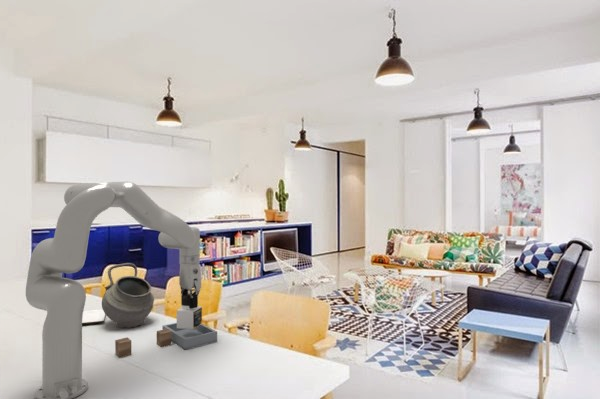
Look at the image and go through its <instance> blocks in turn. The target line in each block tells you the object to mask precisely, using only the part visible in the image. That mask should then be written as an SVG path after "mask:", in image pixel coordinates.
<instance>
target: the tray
mask: <svg viewBox="0 0 600 399" xmlns="http://www.w3.org/2000/svg"><path fill="white" fill-rule="evenodd" d="M163 329H168V330H170V331H171V343H173V342H174V343H173V344H177V346H178V347H179V348H181V349H182V350H184V351H185V350H190V349H194V348H198V347H202V346H206V345H210V344H213V343H214V344H215V343H218V331H217V330H216V329H213V328H211V327H210V326H207V325H205V324H203V323H202V324H201V325H200V326H198V327H197V328H195V329H194V330H190V329H177V322H174V323H173V322H172V323H168V324H164V325H162V329H161V330H163Z"/></svg>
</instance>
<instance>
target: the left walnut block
mask: <svg viewBox="0 0 600 399" xmlns="http://www.w3.org/2000/svg"><path fill="white" fill-rule="evenodd" d="M114 342H115V346H114V347H115V350H114V351H115V353H114V354H115V355H116V357H118V358H124V357H128V356H131V355H132V339H130V338H129V337H124V338H118V339H115V340H114Z"/></svg>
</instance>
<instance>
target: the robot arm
mask: <svg viewBox="0 0 600 399" xmlns="http://www.w3.org/2000/svg"><path fill="white" fill-rule="evenodd" d="M63 200H64V202H65V206H64V207H63V209H62V210H61V212H60V214H59V216H58V219H57V222H56V227H55V231H54V234H53V235H54V236H53V237H49V238H46V239H44V240H41V241H39V243H38V244H37V245H36V246H35V247H34V248H33V251H32V252H31V254H30V255H31V256H30V260H29V266H28V271H27V278H26V284H25V298H26V301H27V303H28V304H29V306H31V307H33V308H35V309H38V310H42V311H46V316H45V320H44V322H43V326H42V333H41V334H42V335H41V337H42V344H41V345H42V346H41V348H42V349H41V350H42V351H41V352H42V354H41V355H42V358H41V360H42V361H41V362H42V371H41V372H42V373H41V374H42V377H41V378H42V380H41V382H42V385H41V386H40V387H39V388H38V389H37V390H36V392H35V399H74V398H76V397H78V396H81V395H82V394H83V393H84V392H86V391H87V389H88V387H89V382H88V381H87V380H86V379H85V378H83V325H82V317H83V311H85V310H84V309H85V306H86V299H87V292H86V289H85V287H84V285H82V283H81V282H79V281H77V280H75V279H72V278H67V277H63V274H74V273H77V272H79V271H81V269H83V267H84V265H85V261H86V258H87V252H88V251H87V250H88V245H89V237H90V232H91V227H92V224H93V222H94V221H95V220H96V218H97V217H98V216H99V215H101V214H102V212H105V211H106V210H108V209H110V208H121V209H123V210H124V211H125V212H126V214H128V215H129V216H131V218H132V219H134V220H135V221H136V222H137V223H139V225H141V226H143V227H144V228H147V229H149V230H153V231H157V232H160V233H159V234H158V243H159V244H160V246H162V247H163V248H166V249H171V250H172V249H173V250H174V249H176V250H179V279H178V281H179V287H180V295H181V298H182V296H184V295H189V294H190V298H189V308H190V309H191V308H197V307H198V306H199V305H198V303H199V293H200V292H201V288H202V273H201V272H202V270H201V265H200V263H201V262H200V258H201V257H200V254H201V253H200V252H201V248H200V246H201V244H200V242H201V239H200V238H201V236H200V234H201V233H200V232H201V231H200V229H199V228H198V227H195V226H194V227H193V226H190V225H189V224H188V223H187V222H186V221H185V220H183V219H182V218H180V217H178V216H177V215H175V214H173V213H171V212H170V211H168V210H166V209H164V208H162V207H160V206H159V205H158V204H157V203H156V202H155V201H154V200H153V199H152V198H151V197H150V196H149V195H148V194H147V193H146V192H145V191H143V189H141V187H140V186H138V185H137V184H136V183H134V182H131V181H108V182H98V183H96V182H95V183H94V182H93V183H76V184H73V185H71V186H69V187H68V188H67V189H66V190H65V193H64V196H63Z"/></svg>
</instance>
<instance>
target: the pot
mask: <svg viewBox="0 0 600 399" xmlns="http://www.w3.org/2000/svg"><path fill="white" fill-rule="evenodd" d="M124 267H132V268H133V269H134V275H125V276H121V277H119V278H118V279H117V280H116V281H115V283H114V279H113V277H112V273H111V272H112V270H114V269H117V268H124ZM107 277H108V280H109V282H110V283H109V285H106V286H104V289H105V291H104V293H103V296H102V299H101V309H103V311H104V313H105V316H106V317H107V318H108V319H109V320H111V321H113V322H114V323H115V324H116V327H117V328H118V329H122V328H123V329H124V328H127V329H130V328H135V327H138V326H142V325H144V324H145V320H146V318H147V317H148V316H149V315H150V314H151V311H152V310H153V307H154V301H155V298H154V295H153V293H152V292H151V291H152V285H151V284H150V283H149V282H148V281H147V280H146V279H144V278H142V277H138V267H137V266H136V265H135V264H134V263H131V262H126V263H119V264H115V265H111V266H110V267H109V268H108V270H107Z"/></svg>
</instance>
